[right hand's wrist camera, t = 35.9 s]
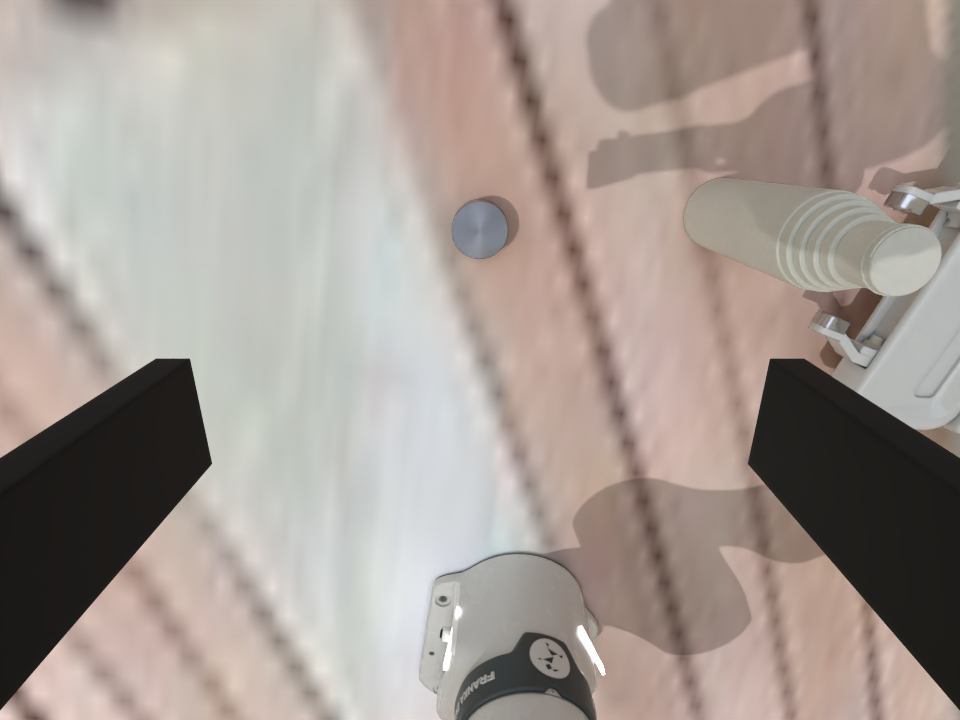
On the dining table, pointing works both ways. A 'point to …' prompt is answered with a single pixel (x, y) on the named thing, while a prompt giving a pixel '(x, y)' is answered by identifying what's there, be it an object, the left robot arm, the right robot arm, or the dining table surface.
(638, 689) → the dining table surface
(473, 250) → the cap
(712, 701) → the dining table surface
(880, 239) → the bottle
